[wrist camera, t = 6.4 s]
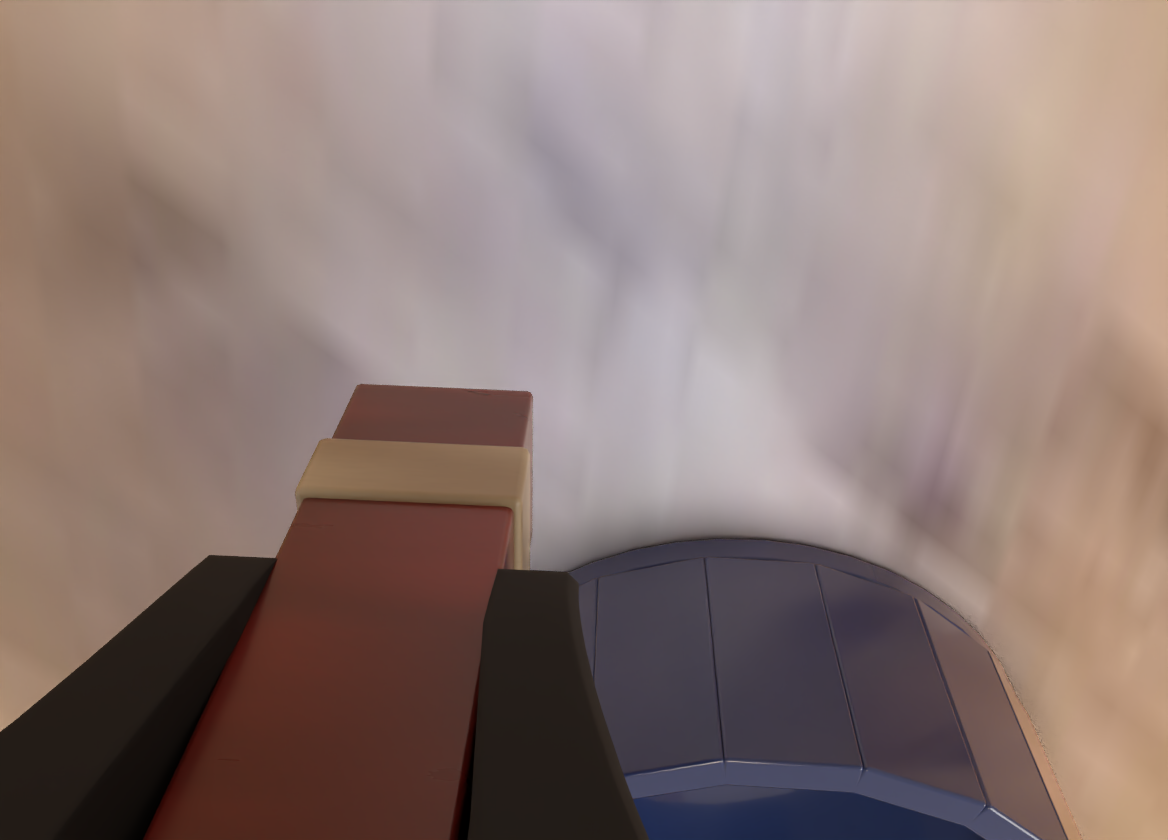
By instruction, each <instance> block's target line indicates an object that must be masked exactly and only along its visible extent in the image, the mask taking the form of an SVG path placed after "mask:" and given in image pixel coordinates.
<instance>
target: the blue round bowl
mask: <svg viewBox="0 0 1168 840" xmlns="http://www.w3.org/2000/svg"><path fill="white" fill-rule="evenodd" d="M568 573H569V574H570V575H571V576H572V577H573V578H574V579H575V580H576V581H577V582H578V583H579V595H578V596H579V609H580V619H581V625H582V632H583V637H584V642H585V647H586V652H587V656H588V660H589V664H590V668H591V672H592V677H593V681H594V685H595V688H596V692H597V695H598V699H599V702H600V705H601V709H602V712H603V715H604V718H605V721H606V724H607V727H608V730H609V733H610V736H611V739H612V742H613V745H614V748H615V751H616V754H617V757H618V760H619V763H620V766H621V769H622V772H623V774H624V777H625V780H626V782H627V785H628V788H629V790H630V793H631V795H632V798H633V801H634V803H635V806H636V809H637V811H638V813H639V816H640V818H641V821H642V823H643V826H644V828H645V830H646V833H647V835H648V838H649V840H1083V839H1082V837H1081V834H1080V832H1079V830H1078V828H1077V825H1076V823H1075V821H1074V818H1073V816H1072V814H1071V811H1070V809H1069V807H1068V805H1067V802H1066V800H1065V798H1064V795H1063V793H1062V791H1061V788H1060V786H1059V784H1058V782H1057V779H1056V777H1055V775H1054V772H1053V770H1052V768H1051V765H1050V763H1049V761H1048V759H1047V756H1046V754H1045V752H1044V749H1043V747H1042V745H1041V742H1040V740H1039V738H1038V736H1037V733H1036V731H1035V729H1034V726H1033V724H1032V722H1031V719H1030V717H1029V715H1028V713H1027V712H1026V710H1025V708H1024V707H1023V705H1022V703H1021V702H1020V700H1019V699H1018V697H1017V695H1016V694H1015V691H1014V689H1013V687H1012V685H1011V683H1010V681H1009V679H1008V677H1007V675H1006V673H1005V671H1004V669H1003V667H1002V665H1001V663H1000V661H999V660H998V658H997V657H996V656H995V654H994V653H993V652H992V650H991V649H990V648H989V646H988V645H987V644H986V642H985V641H984V640H983V638H982V637H981V636H980V635H979V634H978V633H977V632H976V631H975V630H974V629H973V628H972V627H971V626H970V625H969V624H968V623H967V622H966V621H965V620H964V619H963V618H962V617H961V616H960V615H959V614H958V613H957V612H956V611H954V610H953V609H951V608H950V607H949V606H947V605H946V604H944V603H943V602H942V601H940V600H939V599H937V598H936V597H935V596H933V595H932V594H930V593H929V592H928V591H926V590H925V589H923V588H921V587H919V586H918V585H916V584H914V583H912V582H910V581H908V580H906V579H904V578H902V577H900V576H899V575H897V574H895V573H893V572H891V571H889V570H886V569H884V568H881V567H878V566H876V565H873V564H870V563H868V562H865V561H862V560H860V559H857V558H855V557H852V556H849V555H845V554H840V553H836V552H832V551H828V550H824V549H820V548H816V547H812V546H808V545H801V544H793V543H786V542H778V541H771V540H756V539H708V540H695V541H682V542H673V543H668V544H662V545H657V546H652V547H646V548H641V549H635V550H631V551H628V552H625V553H621V554H618V555H615V556H611V557H608V558H605V559H601V560H598V561H595V562H592V563H589V564H587V565H585V566H582V567H580V568H578V569H575V570H573V571H571V572H568Z"/></svg>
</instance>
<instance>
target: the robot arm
mask: <svg viewBox="0 0 1168 840" xmlns="http://www.w3.org/2000/svg"><path fill="white" fill-rule="evenodd" d="M276 560H277V558H259V557H238V556H216V555H209V556H208V557H207V558H205V559H204V560H203V561H202V562H201V563H199V564H198V565H197V566H196V567H194V568H193V569H192V570H191V571H190V572H189V573H187V574H186V575H185V576H184V577H183V578H182V579H180V580H179V581H178V582H177V583H176V584H175V585H173V586H172V587H171V588H170V589H169V590H168V591H167V592H165V593H164V594H163V595H162V596H161V597H160V598H158V599H157V600H156V601H155V602H154V603H153V604H151V605H150V606H149V607H148V608H147V609H146V610H145V611H143V612H142V613H141V614H140V615H139V616H138V617H137V618H135V619H134V620H133V621H132V622H131V623H130V624H128V625H127V626H126V627H125V628H124V629H123V630H122V631H120V632H119V633H118V634H117V635H116V636H115V637H113V638H112V639H111V640H110V641H109V642H108V643H107V644H105V645H104V646H103V647H102V648H101V649H100V650H98V651H97V652H96V653H95V654H94V655H93V656H91V657H90V658H89V659H88V660H87V661H86V662H84V663H83V664H82V665H81V666H80V667H79V668H77V669H76V670H75V671H74V672H73V673H71V674H70V675H69V676H68V677H67V678H65V679H64V680H63V681H62V682H61V683H59V684H58V685H57V686H56V687H55V688H53V689H52V690H51V691H50V692H49V693H47V694H46V695H45V696H44V697H43V698H41V699H40V700H39V701H38V702H37V703H36V704H34V705H33V706H32V707H31V708H30V709H28V710H27V711H26V712H25V713H24V714H22V715H21V716H20V717H19V718H18V719H16V720H15V721H14V722H13V723H11V724H10V725H9V726H7V727H6V728H5V729H3V730H2V731H1V732H0V840H143V838H144V836H145V834H146V832H147V829H148V827H149V825H150V823H151V821H152V819H153V817H154V815H155V812H156V810H157V808H158V806H159V804H160V802H161V800H162V798H163V795H164V793H165V791H166V789H167V787H168V785H169V783H170V781H171V779H172V776H173V774H174V772H175V770H176V768H177V766H178V764H179V762H180V759H181V757H182V755H183V753H184V751H185V749H186V747H187V745H188V742H189V740H190V738H191V736H192V734H193V732H194V730H195V728H196V726H197V723H198V721H199V719H200V717H201V715H202V713H203V711H204V709H205V706H206V704H207V702H208V700H209V698H210V696H211V694H212V692H213V689H214V687H215V685H216V683H217V681H218V679H219V677H220V675H221V672H222V670H223V668H224V666H225V664H226V662H227V660H228V658H229V656H230V655H231V653H232V651H233V649H234V648H235V646H236V644H237V642H238V641H239V639H240V637H241V635H242V633H243V631H244V628H245V626H246V624H247V622H248V620H249V618H250V616H251V614H252V611H253V609H254V607H255V605H256V603H257V601H258V599H259V596H260V594H261V592H262V590H263V588H264V586H265V584H266V582H267V579H268V577H269V575H270V573H271V571H272V569H273V567H274V564H275V562H276ZM578 595H579V583H578V582H577V581H576V580H575V579H574V578H573V577H572V576H571V575H570V574H569V573H567V572H557V571H536V570H515V569H498V570H497V574H496V577H495V580H494V584H493V587H492V590H491V594H490V598H489V601H488V605H487V609H486V613H485V617H484V621H483V631H482V646H481V661H480V676H479V691H478V707H477V722H476V738H475V753H474V769H473V784H472V800H471V815H470V824H469V832H468V840H649V838H648V835H647V833H646V830H645V828H644V826H643V823H642V821H641V818H640V816H639V813H638V811H637V809H636V806H635V803H634V801H633V798H632V795H631V793H630V790H629V788H628V785H627V782H626V780H625V777H624V774H623V772H622V769H621V766H620V763H619V760H618V757H617V754H616V751H615V748H614V745H613V742H612V739H611V736H610V733H609V730H608V727H607V724H606V721H605V718H604V715H603V712H602V709H601V705H600V702H599V699H598V695H597V692H596V688H595V685H594V681H593V677H592V672H591V668H590V664H589V660H588V656H587V652H586V647H585V642H584V637H583V632H582V625H581V619H580V609H579V596H578Z"/></svg>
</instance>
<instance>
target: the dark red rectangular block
mask: <svg viewBox="0 0 1168 840" xmlns="http://www.w3.org/2000/svg"><path fill="white" fill-rule="evenodd" d="M532 491H533V396H532V394H531V392H528V391H510V390H487V389H464V388H442V387H419V386H396V385H373V384H360V385H357V386H356V388H355V390H354V393H353V395H352V397H351V399H350V401H349V403H348V405H347V407H346V410H345V412H344V414H343V416H342V418H341V420H340V422H339V424H338V427H337V429H336V431H335V433H334V435H333V437H332V438H326V439H322V440H320V441H319V443H318V445H317V447H316V449H315V451H314V453H313V455H312V457H311V459H310V461H309V463H308V465H307V467H306V470H305V472H304V474H303V476H302V478H301V480H300V482H299V484H298V486H297V488H296V491H295V496H296V503H297V513H296V516H295V518H294V520H293V522H292V524H291V526H290V528H289V530H288V533H287V535H286V537H285V539H284V541H283V543H282V545H281V547H280V550H279V552H278V554H277V556H276V558H277V560H276V562H275V564H274V567H273V569H272V571H271V573H270V575H269V577H268V579H267V582H266V584H265V586H264V588H263V590H262V592H261V594H260V596H259V599H258V601H257V603H256V605H255V607H254V609H253V611H252V614H251V616H250V618H249V620H248V622H247V624H246V626H245V628H244V631H243V633H242V635H241V637H240V639H239V641H238V642H237V644H236V646H235V648H234V649H233V651H232V653H231V655H230V656H229V658H228V660H227V662H226V664H225V666H224V668H223V670H222V672H221V675H220V677H219V679H218V681H217V683H216V685H215V687H214V689H213V692H212V694H211V696H210V698H209V700H208V702H207V704H206V706H205V709H204V711H203V713H202V715H201V717H200V719H199V721H198V723H197V726H196V728H195V730H194V732H193V734H192V736H191V738H190V740H189V742H188V745H187V747H186V749H185V751H184V753H183V755H182V757H181V759H180V762H179V764H178V766H177V768H176V770H175V772H174V774H173V776H172V779H171V781H170V783H169V785H168V787H167V789H166V791H165V793H164V795H163V798H162V800H161V802H160V804H159V806H158V808H157V810H156V812H155V815H154V817H153V819H152V821H151V823H150V825H149V827H148V829H147V832H146V834H145V836H144V838H143V840H468V832H469V824H470V815H471V800H472V784H473V769H474V753H475V738H476V722H477V707H478V691H479V676H480V661H481V646H482V631H483V621H484V617H485V613H486V609H487V605H488V601H489V598H490V594H491V590H492V587H493V584H494V580H495V577H496V574H497V570H498V569H515V570H530V545H531V538H532Z"/></svg>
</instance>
